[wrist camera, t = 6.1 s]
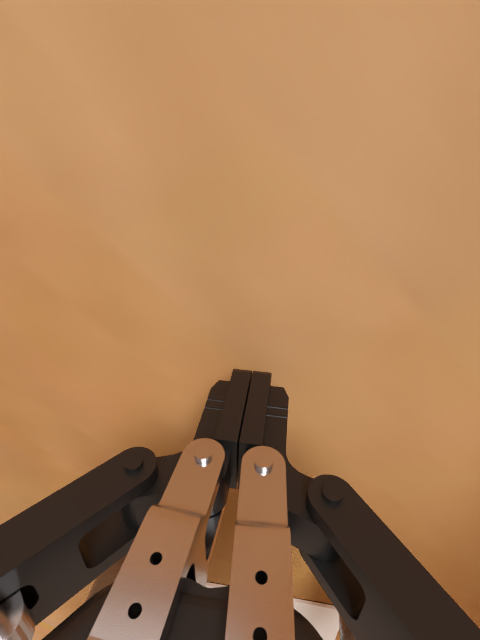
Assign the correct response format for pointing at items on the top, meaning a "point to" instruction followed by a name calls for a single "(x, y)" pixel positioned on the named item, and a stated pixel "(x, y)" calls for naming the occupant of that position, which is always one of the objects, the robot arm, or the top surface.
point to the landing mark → (313, 615)
